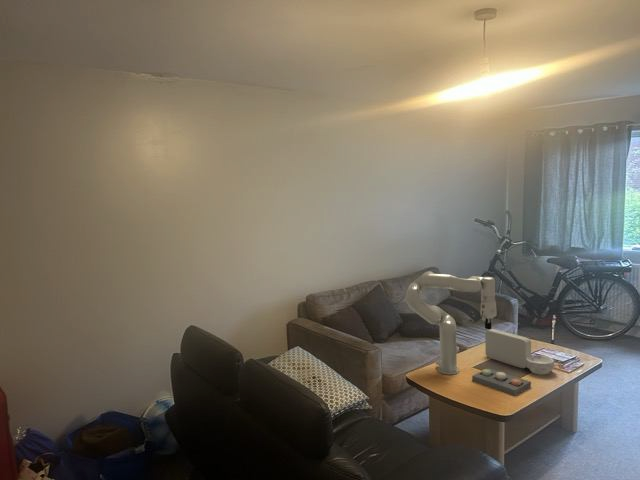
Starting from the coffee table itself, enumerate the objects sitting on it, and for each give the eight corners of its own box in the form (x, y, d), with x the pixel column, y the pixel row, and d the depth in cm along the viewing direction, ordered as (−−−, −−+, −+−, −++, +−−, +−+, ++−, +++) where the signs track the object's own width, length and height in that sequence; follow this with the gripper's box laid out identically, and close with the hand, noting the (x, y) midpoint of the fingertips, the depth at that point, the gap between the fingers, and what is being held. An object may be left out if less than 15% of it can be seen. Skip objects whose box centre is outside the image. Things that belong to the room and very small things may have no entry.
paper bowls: (538, 365, 280) (538, 352, 279) (559, 373, 266) (560, 360, 265) (519, 369, 274) (519, 357, 273) (540, 379, 260) (540, 365, 259)
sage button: (480, 375, 264) (480, 370, 263) (485, 372, 267) (485, 368, 266) (487, 377, 260) (487, 373, 259) (492, 375, 263) (492, 371, 262)
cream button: (494, 377, 256) (494, 373, 256) (499, 375, 259) (499, 371, 259) (502, 380, 252) (502, 376, 252) (507, 378, 255) (507, 373, 255)
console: (472, 380, 262) (472, 375, 262) (488, 373, 271) (488, 368, 271) (515, 395, 241) (515, 390, 241) (530, 386, 251) (530, 381, 250)
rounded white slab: (533, 366, 278) (533, 337, 276) (525, 369, 274) (526, 340, 272) (492, 353, 302) (492, 327, 300) (485, 356, 298) (485, 329, 296)
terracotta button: (509, 384, 249) (509, 380, 249) (514, 382, 252) (514, 377, 252) (517, 387, 245) (517, 383, 245) (522, 384, 248) (522, 380, 248)
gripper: (486, 301, 259) (486, 333, 261) (501, 297, 268) (501, 327, 270) (474, 299, 265) (475, 330, 267) (489, 295, 274) (489, 324, 276)
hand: (488, 328), depth 268 cm, fingers closed
